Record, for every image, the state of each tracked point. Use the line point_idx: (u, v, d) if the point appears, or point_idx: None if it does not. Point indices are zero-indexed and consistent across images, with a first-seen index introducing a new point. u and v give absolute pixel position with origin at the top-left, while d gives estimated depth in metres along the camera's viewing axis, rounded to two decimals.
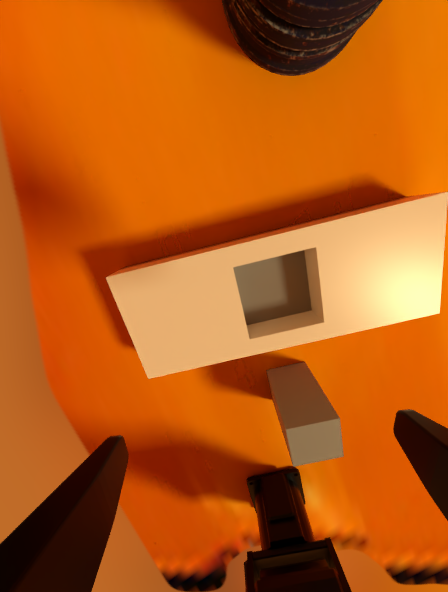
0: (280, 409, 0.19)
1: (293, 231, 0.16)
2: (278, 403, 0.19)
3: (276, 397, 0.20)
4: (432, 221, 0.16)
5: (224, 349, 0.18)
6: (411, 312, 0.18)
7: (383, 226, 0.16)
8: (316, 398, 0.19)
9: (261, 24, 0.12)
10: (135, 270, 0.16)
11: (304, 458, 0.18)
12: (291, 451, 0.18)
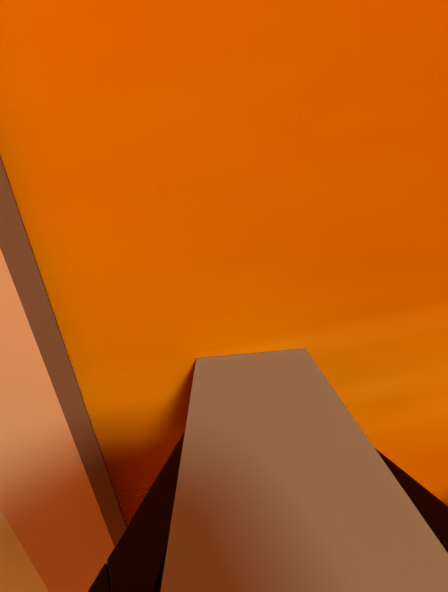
0: None
1: None
2: None
3: None
4: None
5: None
6: None
7: None
8: None
9: None
10: None
11: None
12: None
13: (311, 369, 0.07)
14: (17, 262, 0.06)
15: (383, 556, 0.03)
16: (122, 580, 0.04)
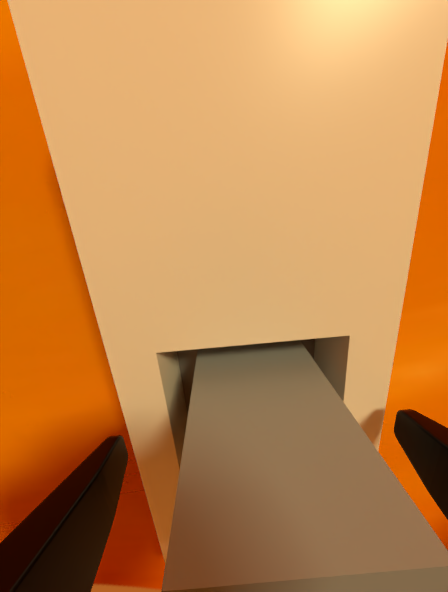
0: None
1: (120, 393, 0.07)
2: None
3: None
4: None
5: None
6: (417, 50, 0.05)
7: (110, 185, 0.06)
8: None
9: None
10: None
11: None
12: None
13: (296, 345, 0.09)
14: None
15: (334, 455, 0.05)
16: None
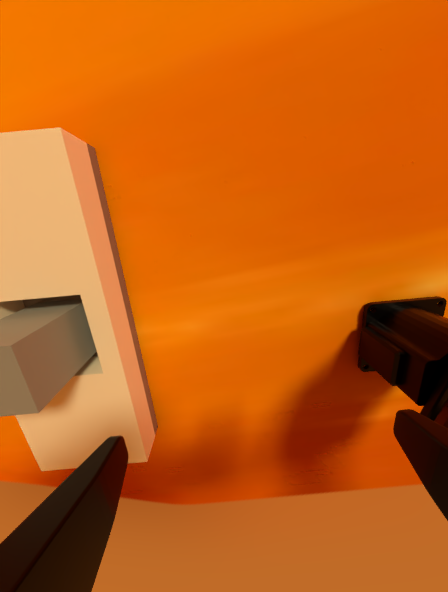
0: None
1: None
2: None
3: None
4: None
5: (115, 397, 0.17)
6: (61, 175, 0.13)
7: None
8: None
9: None
10: (33, 451, 0.19)
11: (19, 399, 0.12)
12: (6, 414, 0.12)
13: (77, 303, 0.16)
14: (111, 240, 0.16)
15: (20, 331, 0.12)
16: None
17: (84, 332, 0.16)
